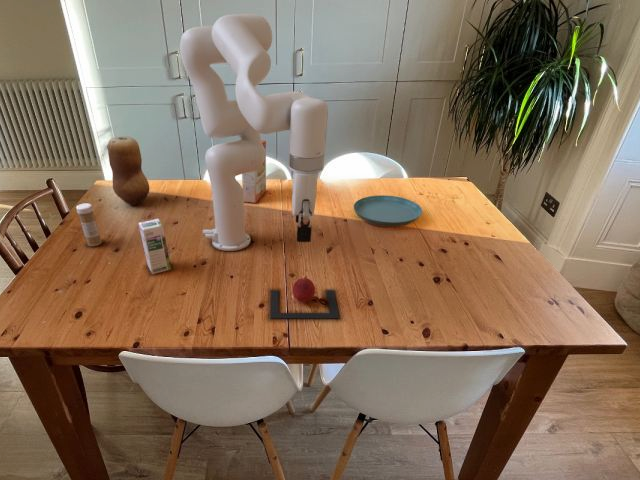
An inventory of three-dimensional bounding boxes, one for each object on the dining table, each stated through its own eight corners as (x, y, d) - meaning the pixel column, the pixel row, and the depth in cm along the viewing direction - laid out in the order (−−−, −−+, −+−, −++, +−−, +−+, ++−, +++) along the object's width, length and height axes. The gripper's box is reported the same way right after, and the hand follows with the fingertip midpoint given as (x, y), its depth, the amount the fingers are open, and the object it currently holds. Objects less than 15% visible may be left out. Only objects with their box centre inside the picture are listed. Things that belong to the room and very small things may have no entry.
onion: (313, 309, 104) (314, 283, 100) (290, 307, 105) (291, 281, 100) (315, 296, 109) (316, 271, 104) (293, 294, 110) (294, 269, 105)
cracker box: (257, 203, 160) (255, 149, 148) (242, 202, 161) (239, 148, 149) (267, 191, 171) (266, 139, 159) (253, 189, 172) (251, 138, 160)
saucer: (389, 198, 163) (391, 190, 161) (435, 221, 145) (437, 213, 143) (339, 210, 154) (340, 202, 152) (381, 236, 136) (383, 227, 134)
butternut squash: (158, 202, 162) (146, 137, 148) (128, 212, 154) (113, 145, 140) (138, 193, 170) (125, 131, 156) (109, 203, 162) (93, 138, 148)
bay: (270, 318, 101) (270, 318, 101) (271, 291, 111) (271, 290, 111) (339, 319, 101) (339, 318, 101) (333, 291, 111) (333, 290, 111)
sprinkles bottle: (101, 239, 137) (91, 201, 129) (102, 245, 133) (91, 207, 125) (87, 242, 135) (75, 203, 128) (87, 248, 132) (75, 209, 124)
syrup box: (152, 275, 118) (142, 229, 110) (147, 265, 123) (137, 221, 114) (171, 270, 120) (163, 225, 112) (166, 261, 125) (158, 217, 116)
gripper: (288, 149, 96) (287, 215, 106) (289, 175, 82) (287, 249, 92) (320, 149, 96) (315, 215, 106) (327, 176, 82) (320, 249, 92)
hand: (302, 231), depth 99 cm, fingers open, 9 cm apart
